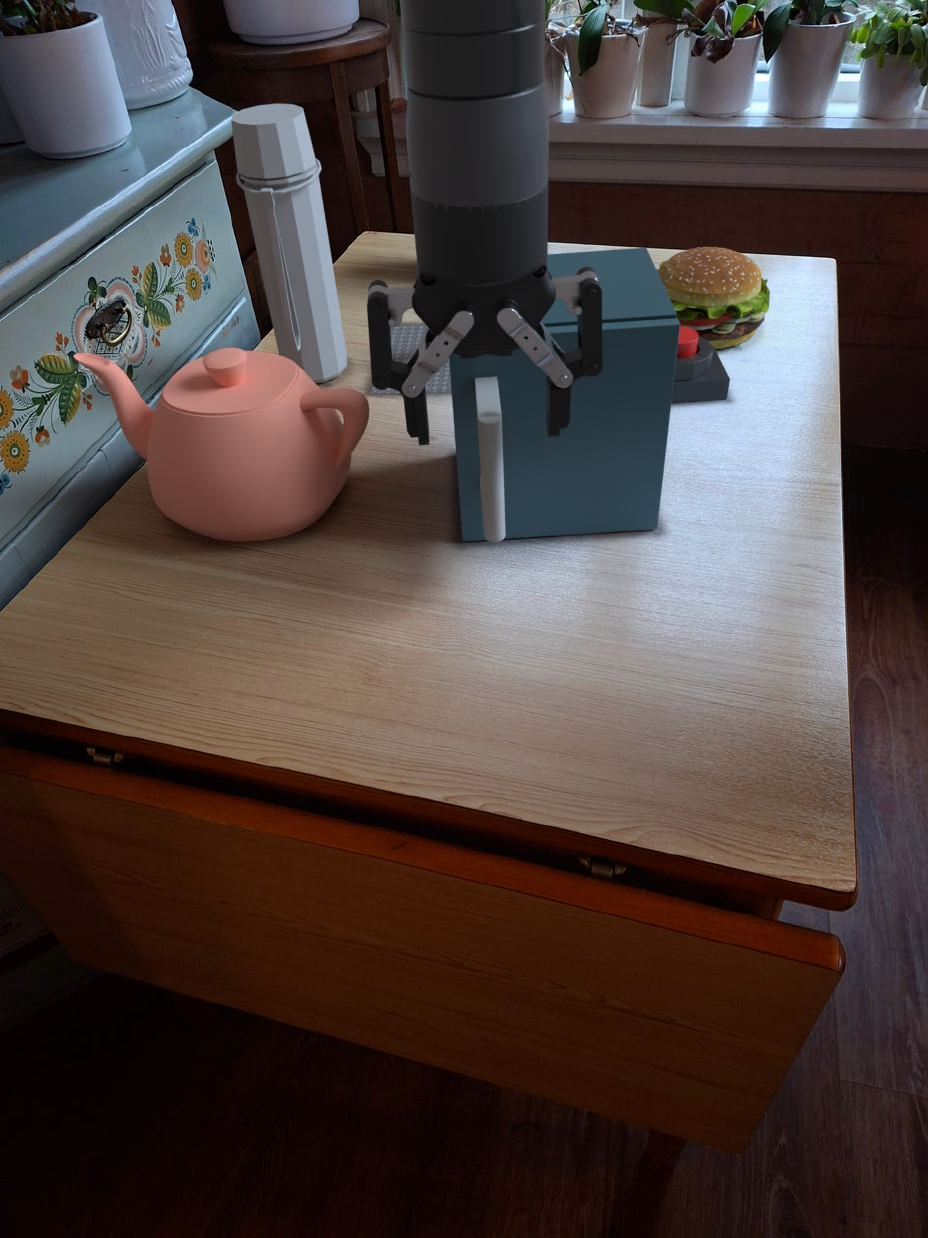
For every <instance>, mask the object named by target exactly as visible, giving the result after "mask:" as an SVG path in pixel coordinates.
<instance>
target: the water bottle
mask: <svg viewBox="0 0 928 1238" xmlns="http://www.w3.org/2000/svg"><path fill="white" fill-rule="evenodd" d="M230 122H231V130H232V138H233V145H234V153H235V161H236V169H237V170H236V171H237V172H236V175H235V179H236V183H237V185H238V186H239V187H240V188H241V189H242V190H243V192H244V197H245V202H246V206H247V212H248V216H249V220H250V221H249V222H250V225H251V230H252V234H253V239H254V240H253V241H254V243H255V249H256V254H257V259H258V262H259V267H260V272H261V278H262V282H263V286H264V291H265V295H266V301H267V305H268V310H269V314H270V319H271V324H272V329H273V334H274V338H275V344H276V347H277V352H278V355H281V356H283V357H286V358H288V359H290V360H292V361H293V362H295V363H296V364H297V365H298V366H299V367H300V368H301V369H302V370H303V371H304V372H305V373H306V374H307V375H308V376H309V377H310V378H311V379H312V380H313V381H314V383H315V384H321V383H323V384H324V383H325V382H328V381H331V380H333V379H335V378H338V377H339V376H340V375H341V374H342V373H343V372H344V371H345V370H346V369H347V367H348V354H347V348H346V341H345V336H344V335H345V334H344V329H343V323H342V317H341V315H342V314H341V310H340V303H339V297H338V290H337V285H336V278H335V272H334V265H333V258H332V253H331V252H332V251H331V247H330V239H329V234H328V233H329V232H328V228H327V221H326V214H325V210H324V209H325V208H324V202H323V196H322V189H321V183H320V182H321V181H320V173H321V172H322V166H321V165H322V164H321V161H320V160H319V159H317V158H316V156H315V155H316V154H315V152H314V147H313V143H312V139H311V135H310V130H309V127H308V124H307V123H308V122H307V119H306V115H305V112H304V108H303V107H301V106H299V105H296V104H292V103H270V104H269V103H268V104H260V105H255V106H251V107H247V108H243V109H241V110H239V111H237V112H234V113H233V114H232V115H231V119H230ZM241 180H243V183H242V181H241Z"/></svg>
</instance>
